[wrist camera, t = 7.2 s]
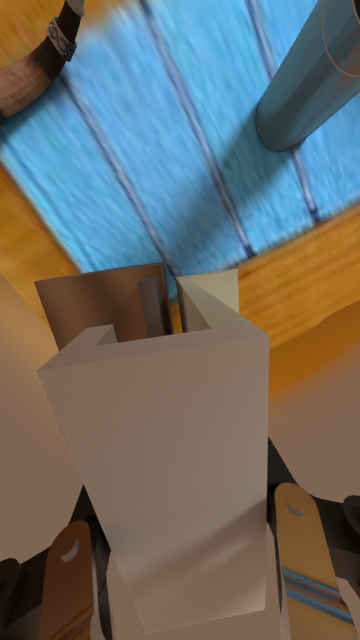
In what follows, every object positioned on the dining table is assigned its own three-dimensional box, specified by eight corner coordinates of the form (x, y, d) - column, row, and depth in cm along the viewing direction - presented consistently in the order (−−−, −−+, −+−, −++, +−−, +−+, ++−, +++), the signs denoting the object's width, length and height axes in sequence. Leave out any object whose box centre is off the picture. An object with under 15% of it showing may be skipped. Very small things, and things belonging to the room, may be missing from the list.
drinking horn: (-60, 129, 29) (-170, 65, 20) (103, 6, 26) (67, -136, 17) (-31, 167, 31) (-118, 127, 21) (126, 56, 28) (105, -48, 19)
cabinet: (163, 261, 37) (157, 266, 13) (176, 344, 43) (187, 451, 19) (102, 270, 37) (-15, 289, 13) (123, 352, 42) (67, 470, 19)
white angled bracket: (231, 269, 24) (497, 300, 5) (236, 365, 28) (386, 584, 9) (140, 281, 23) (36, 370, 4) (158, 377, 28) (146, 634, 9)
